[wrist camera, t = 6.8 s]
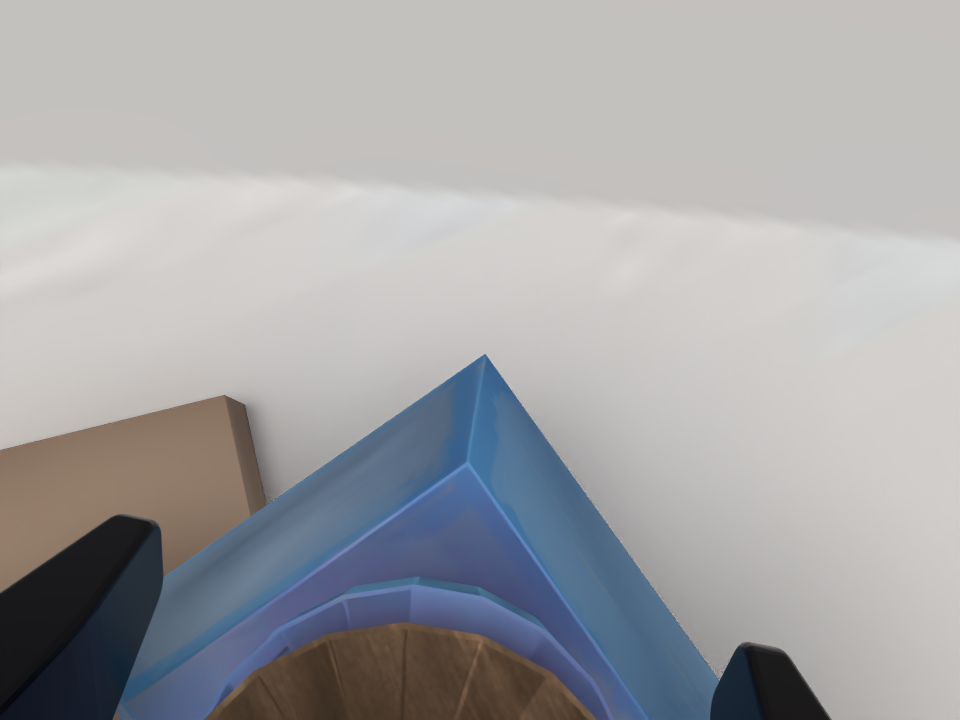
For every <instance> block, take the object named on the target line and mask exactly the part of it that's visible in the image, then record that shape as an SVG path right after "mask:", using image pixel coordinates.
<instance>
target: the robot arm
mask: <svg viewBox="0 0 960 720" xmlns="http://www.w3.org/2000/svg"><path fill="white" fill-rule="evenodd" d="M163 579H164V573H163V554H162V535H161V528H160V525H159V524H158V522H157V521H154V520H153V519H148V518H143V517H138V516H133V515H128V514H117V515H114V516H111V517H110V518H108V519H107V520H105V521H104V522H102V523H101V524H99V525H98V526H96V527H95V528H93V529H92V530H91V531H89V532H88V533H86V534H85V535H83V536H82V537H80V538H79V539H77V540H76V541H74V542H73V543H72V544H70V545H69V546H67V547H66V548H64V549H63V550H61V551H60V552H58V553H57V554H55V555H54V556H53V557H51V558H50V559H48V560H47V561H45V562H44V563H42V564H41V565H39V566H38V567H36V568H35V569H34V570H32V571H31V572H29V573H28V574H26V575H25V576H23V577H22V578H20V579H19V580H17V581H16V582H15V583H13V584H12V585H10V586H9V587H7V588H6V589H4V590H3V591H1V592H0V720H113V717H114V715H115V712H116V710H117V707H118V704H119V702H120V699H121V697H122V694H123V691H124V689H125V686H126V684H127V681H128V678H129V676H130V673H131V671H132V668H133V666H134V663H135V660H136V658H137V655H138V653H139V650H140V647H141V645H142V642H143V640H144V637H145V634H146V632H147V629H148V627H149V624H150V622H151V619H152V616H153V614H154V611H155V609H156V606H157V603H158V601H159V598H160V594H161V591H162V586H163ZM710 720H831V718H830V717H829V715H828V714H827V712H826V711H825V709H824V708H823V706H822V705H821V703H820V702H819V700H818V699H817V697H816V696H815V694H814V693H813V691H812V690H811V688H810V687H809V685H808V684H807V682H806V681H805V679H804V678H803V676H802V675H801V673H800V672H799V670H798V669H797V667H796V666H795V664H794V663H793V661H792V660H791V658H790V657H789V656H788V655H787V654H786V653H785V652H784V651H783V650H781V649H778V648H775V647H770V646H765V645H761V644H756V643H751V642H744V643H742V644H740V645H739V646H738V647H737V649H736V650H735V652H734V654H733V656H732V658H731V660H730V662H729V664H728V666H727V668H726V669H725V671H724V673H723V675H722V677H721V679H720V681H719V683H718V685H717V687H716V689H715V691H714V694H713V697H712V702H711V709H710Z"/></svg>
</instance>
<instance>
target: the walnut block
mask: <svg viewBox="0 0 960 720" xmlns="http://www.w3.org/2000/svg"><path fill="white" fill-rule="evenodd" d="M265 506H267V505H266V501H265V496H264V492H263V487H262V482H261V478H260V473H259V469H258V464H257V460H256V455H255V450H254V446H253V441H252V437H251V432H250V428H249V423H248V418H247V414H246V409H245V405H244V404H242V403H240V402H238V401H236V400H234V399H232V398H230V397H227V396H225V395H223V396H219V397H215V398H210V399H206V400H202V401H198V402H194V403H190V404H186V405H182V406H178V407H174V408H170V409H166V410H162V411H158V412H153V413H149V414H145V415H141V416H137V417H133V418H129V419H125V420H121V421H117V422H113V423H109V424H105V425H101V426H97V427H92V428H88V429H84V430H80V431H76V432H72V433H68V434H64V435H60V436H56V437H52V438H48V439H44V440H40V441H35V442H31V443H27V444H23V445H19V446H15V447H11V448H7V449H3V450H0V592H1V591H3V590H4V589H6V588H7V587H9V586H10V585H12V584H13V583H15V582H16V581H17V580H19V579H20V578H22V577H23V576H25V575H26V574H28V573H29V572H31V571H32V570H34V569H35V568H36V567H38V566H39V565H41V564H42V563H44V562H45V561H47V560H48V559H50V558H51V557H53V556H54V555H55V554H57V553H58V552H60V551H61V550H63V549H64V548H66V547H67V546H69V545H70V544H72V543H73V542H74V541H76V540H77V539H79V538H80V537H82V536H83V535H85V534H86V533H88V532H89V531H91V530H92V529H93V528H95V527H96V526H98V525H99V524H101V523H102V522H104V521H105V520H107V519H108V518H110V517H111V516H114V515H117V514H128V515H133V516H138V517H143V518H148V519H153V520H154V521H157V522H158V524H159V525H160V528H161V535H162V554H163V573H164V576H166V575H167V574H168V573H170V572H171V571H173V570H174V569H176V568H177V567H179V566H180V565H181V564H183V563H184V562H186V561H187V560H189V559H190V558H192V557H193V556H194V555H196V554H197V553H199V552H200V551H202V550H203V549H205V548H206V547H207V546H209V545H210V544H212V543H213V542H215V541H216V540H217V539H219V538H220V537H222V536H223V535H225V534H226V533H228V532H229V531H230V530H232V529H233V528H235V527H236V526H238V525H239V524H241V523H242V522H243V521H245V520H246V519H248V518H249V517H251V516H252V515H254V514H255V513H256V512H258V511H259V510H261V509H262V508H264V507H265ZM113 720H120V718H119V716H118V715H117V713H116V712H115V715H114V717H113Z"/></svg>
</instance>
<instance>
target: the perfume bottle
mask: <svg viewBox="0 0 960 720" xmlns="http://www.w3.org/2000/svg"><path fill="white" fill-rule="evenodd" d="M718 683H719V679H718V678H717V677H716V675H715V674H714V672H713V671H712V670H711V668H710V667H709V665H708V664H707V663H706V661H705V660H704V658H703V657H702V656H701V654H700V653H699V651H698V650H697V649H696V647H695V646H694V644H693V643H692V642H691V640H690V639H689V638H688V636H687V635H686V633H685V632H684V631H683V629H682V628H681V626H680V625H679V624H678V622H677V621H676V619H675V618H674V617H673V615H672V614H671V612H670V611H669V610H668V608H667V607H666V605H665V604H664V603H663V601H662V600H661V598H660V597H659V596H658V594H657V593H656V591H655V590H654V589H653V587H652V586H651V584H650V583H649V582H648V580H647V579H646V578H645V576H644V575H643V573H642V572H641V571H640V569H639V568H638V566H637V565H636V564H635V562H634V561H633V559H632V558H631V557H630V555H629V554H628V552H627V551H626V550H625V548H624V547H623V545H622V544H621V543H620V541H619V540H618V538H617V537H616V536H615V534H614V533H613V531H612V530H611V529H610V527H609V526H608V525H607V523H606V522H605V520H604V519H603V518H602V516H601V515H600V513H599V512H598V511H597V509H596V508H595V506H594V505H593V504H592V502H591V501H590V499H589V498H588V497H587V495H586V494H585V492H584V491H583V490H582V488H581V487H580V485H579V484H578V483H577V481H576V480H575V478H574V477H573V476H572V474H571V473H570V471H569V470H568V469H567V467H566V466H565V465H564V463H563V462H562V460H561V459H560V458H559V456H558V455H557V453H556V452H555V451H554V449H553V448H552V446H551V445H550V444H549V442H548V441H547V439H546V438H545V437H544V435H543V434H542V432H541V431H540V430H539V428H538V427H537V425H536V424H535V423H534V421H533V420H532V418H531V417H530V416H529V414H528V413H527V412H526V410H525V409H524V407H523V406H522V405H521V403H520V402H519V400H518V399H517V398H516V396H515V395H514V393H513V392H512V391H511V389H510V388H509V386H508V385H507V384H506V382H505V381H504V379H503V378H502V377H501V375H500V374H499V372H498V371H497V370H496V368H495V367H494V365H493V364H492V363H491V361H490V360H489V358H488V357H487V356H486V354H484V355H483V356H482V357H480V358H479V359H477V360H476V361H474V362H473V363H471V364H470V365H469V366H467V367H466V368H464V369H463V370H461V371H460V372H458V373H457V374H456V375H454V376H453V377H451V378H450V379H448V380H447V381H445V382H444V383H443V384H441V385H440V386H438V387H437V388H435V389H434V390H432V391H431V392H430V393H428V394H427V395H425V396H424V397H422V398H421V399H420V400H418V401H417V402H415V403H414V404H412V405H411V406H409V407H408V408H407V409H405V410H404V411H402V412H401V413H399V414H398V415H396V416H395V417H394V418H392V419H391V420H389V421H388V422H386V423H385V424H383V425H382V426H381V427H379V428H378V429H376V430H375V431H373V432H372V433H370V434H369V435H368V436H366V437H365V438H363V439H362V440H360V441H359V442H357V443H356V444H355V445H353V446H352V447H350V448H349V449H347V450H346V451H344V452H343V453H342V454H340V455H339V456H337V457H336V458H334V459H333V460H331V461H330V462H329V463H327V464H326V465H324V466H323V467H321V468H320V469H318V470H317V471H316V472H314V473H313V474H311V475H310V476H308V477H307V478H306V479H304V480H303V481H301V482H300V483H298V484H297V485H295V486H294V487H293V488H291V489H290V490H288V491H287V492H285V493H284V494H282V495H281V496H280V497H278V498H277V499H275V500H274V501H272V502H271V503H269V504H268V505H267V506H265V507H264V508H262V509H261V510H259V511H258V512H256V513H255V514H254V515H252V516H251V517H249V518H248V519H246V520H245V521H243V522H242V523H241V524H239V525H238V526H236V527H235V528H233V529H232V530H230V531H229V532H228V533H226V534H225V535H223V536H222V537H220V538H219V539H217V540H216V541H215V542H213V543H212V544H210V545H209V546H207V547H206V548H205V549H203V550H202V551H200V552H199V553H197V554H196V555H194V556H193V557H192V558H190V559H189V560H187V561H186V562H184V563H183V564H181V565H180V566H179V567H177V568H176V569H174V570H173V571H171V572H170V573H168V574H167V575H166V576H164V579H163V586H162V591H161V594H160V598H159V601H158V603H157V606H156V609H155V611H154V614H153V616H152V619H151V622H150V624H149V627H148V629H147V632H146V634H145V637H144V640H143V642H142V645H141V647H140V650H139V653H138V655H137V658H136V660H135V663H134V666H133V668H132V671H131V673H130V676H129V678H128V681H127V684H126V686H125V689H124V691H123V694H122V697H121V699H120V702H119V704H118V707H117V710H116V713H117V715H118V716H119V718H120V720H710V709H711V702H712V697H713V694H714V691H715V689H716V687H717V685H718Z"/></svg>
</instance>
